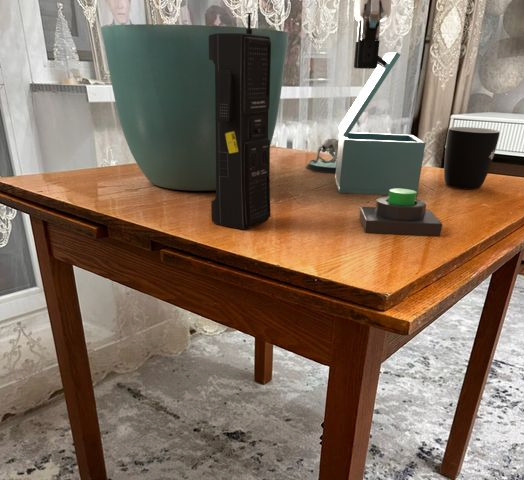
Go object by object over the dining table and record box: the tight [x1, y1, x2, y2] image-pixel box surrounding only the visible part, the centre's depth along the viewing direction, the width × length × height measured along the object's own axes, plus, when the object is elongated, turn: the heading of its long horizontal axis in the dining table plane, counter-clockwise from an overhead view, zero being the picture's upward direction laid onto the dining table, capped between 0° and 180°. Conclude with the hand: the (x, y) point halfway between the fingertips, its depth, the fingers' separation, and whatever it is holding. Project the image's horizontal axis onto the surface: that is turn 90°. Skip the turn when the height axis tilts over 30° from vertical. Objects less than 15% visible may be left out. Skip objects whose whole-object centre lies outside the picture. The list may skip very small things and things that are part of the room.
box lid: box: [337, 51, 401, 137], centre depth 92 cm, size 14×12×5 cm
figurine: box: [305, 138, 339, 174], centre depth 115 cm, size 11×12×6 cm
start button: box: [388, 188, 418, 205], centre depth 74 cm, size 4×4×2 cm
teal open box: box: [334, 131, 426, 197], centre depth 98 cm, size 14×12×9 cm
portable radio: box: [209, 12, 272, 231], centre depth 69 cm, size 8×6×25 cm
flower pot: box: [100, 23, 290, 192], centre depth 93 cm, size 30×30×24 cm
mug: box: [443, 126, 500, 190], centre depth 103 cm, size 12×9×10 cm
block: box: [358, 196, 443, 237], centre depth 75 cm, size 10×8×4 cm
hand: (364, 67), depth 91 cm, fingers closed on box lid, 5 cm apart
